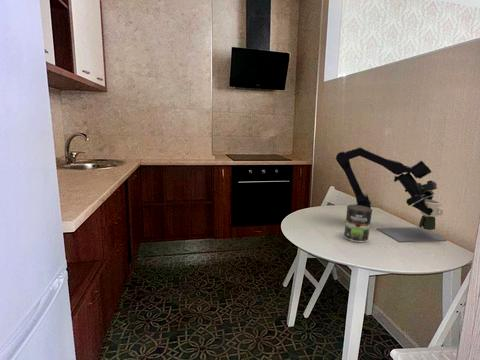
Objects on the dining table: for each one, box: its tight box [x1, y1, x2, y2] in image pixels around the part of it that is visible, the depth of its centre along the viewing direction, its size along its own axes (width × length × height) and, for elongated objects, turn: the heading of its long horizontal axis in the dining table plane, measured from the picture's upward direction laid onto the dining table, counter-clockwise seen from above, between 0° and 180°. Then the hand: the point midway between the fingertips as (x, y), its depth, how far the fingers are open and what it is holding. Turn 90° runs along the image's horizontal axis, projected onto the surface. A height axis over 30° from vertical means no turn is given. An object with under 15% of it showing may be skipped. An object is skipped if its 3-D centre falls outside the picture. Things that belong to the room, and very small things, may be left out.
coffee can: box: [343, 204, 373, 243], centre depth 129 cm, size 10×10×14 cm
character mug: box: [418, 199, 444, 231], centre depth 131 cm, size 11×7×13 cm, turn 23°
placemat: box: [376, 226, 448, 243], centre depth 137 cm, size 24×16×1 cm, turn 99°
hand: (432, 213), depth 130 cm, fingers closed on character mug, 7 cm apart
